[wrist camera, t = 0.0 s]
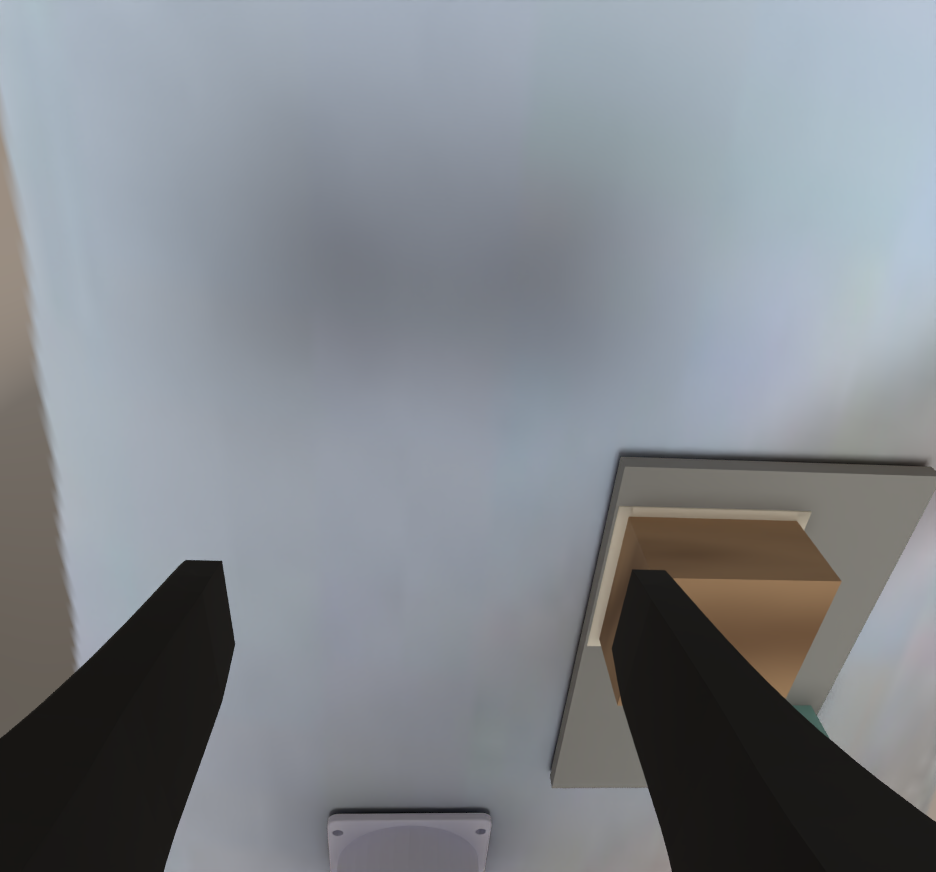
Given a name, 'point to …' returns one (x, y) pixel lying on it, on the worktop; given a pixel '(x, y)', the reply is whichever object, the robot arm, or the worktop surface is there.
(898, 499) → the build mat
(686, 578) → the walnut slab
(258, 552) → the worktop surface
